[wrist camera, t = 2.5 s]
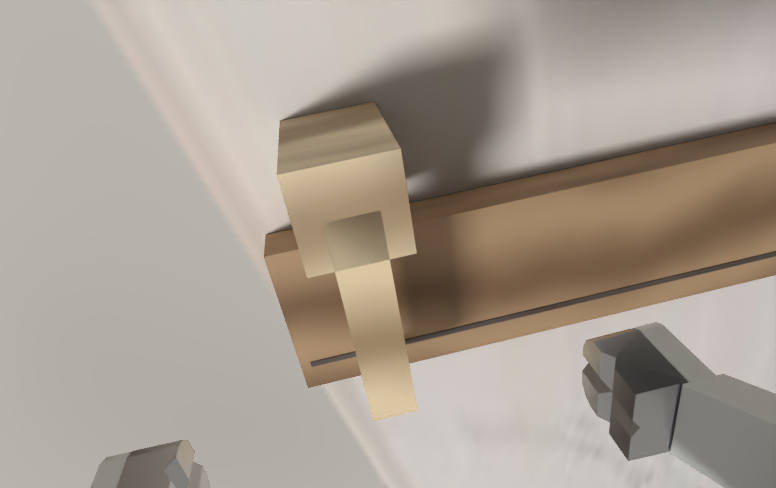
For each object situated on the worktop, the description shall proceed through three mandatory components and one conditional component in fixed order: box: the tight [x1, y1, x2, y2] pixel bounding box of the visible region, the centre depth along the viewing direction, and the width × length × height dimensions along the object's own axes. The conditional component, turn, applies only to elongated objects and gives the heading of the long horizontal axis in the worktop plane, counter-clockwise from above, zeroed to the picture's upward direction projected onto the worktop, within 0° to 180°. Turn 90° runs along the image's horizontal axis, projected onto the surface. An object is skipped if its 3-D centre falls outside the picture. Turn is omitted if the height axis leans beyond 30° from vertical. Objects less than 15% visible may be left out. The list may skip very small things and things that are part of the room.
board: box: [264, 123, 776, 388], centre depth 25 cm, size 8×26×2 cm, turn 99°
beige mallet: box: [277, 102, 418, 421], centre depth 22 cm, size 12×4×6 cm, turn 9°
